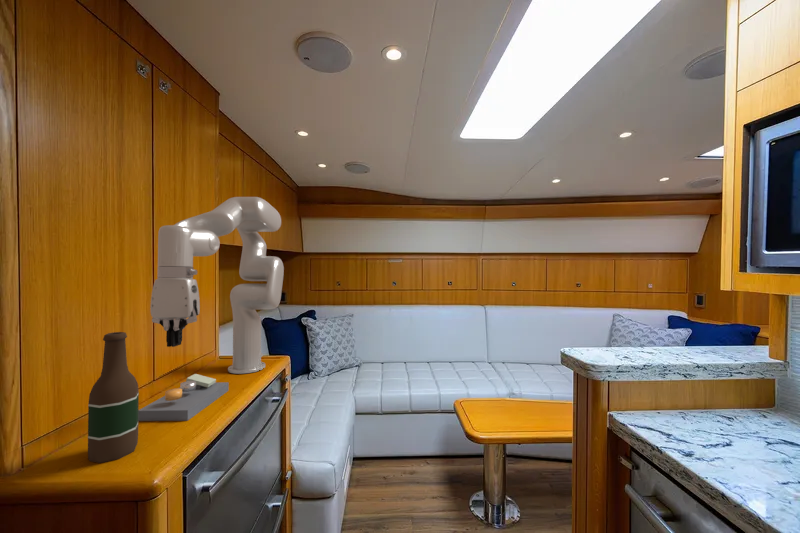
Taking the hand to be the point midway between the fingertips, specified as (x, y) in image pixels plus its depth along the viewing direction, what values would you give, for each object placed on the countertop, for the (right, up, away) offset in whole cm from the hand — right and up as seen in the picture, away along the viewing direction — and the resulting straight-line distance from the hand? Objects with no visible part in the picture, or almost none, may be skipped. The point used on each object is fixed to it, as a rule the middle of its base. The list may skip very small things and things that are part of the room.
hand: (174, 345), depth 84 cm
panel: (0, -18, +6) cm, 18 cm away
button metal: (0, -14, +6) cm, 15 cm away
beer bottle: (0, -17, -18) cm, 25 cm away
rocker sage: (0, -14, +12) cm, 18 cm away
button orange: (0, -13, 0) cm, 13 cm away
